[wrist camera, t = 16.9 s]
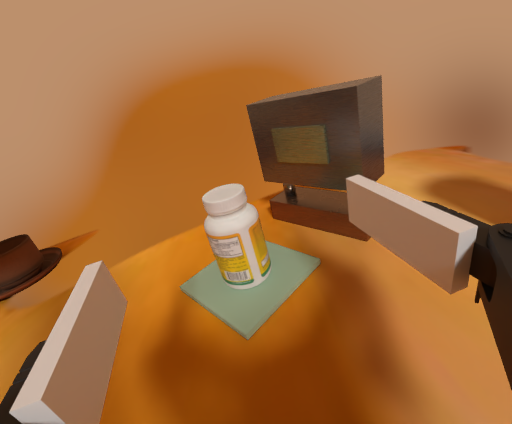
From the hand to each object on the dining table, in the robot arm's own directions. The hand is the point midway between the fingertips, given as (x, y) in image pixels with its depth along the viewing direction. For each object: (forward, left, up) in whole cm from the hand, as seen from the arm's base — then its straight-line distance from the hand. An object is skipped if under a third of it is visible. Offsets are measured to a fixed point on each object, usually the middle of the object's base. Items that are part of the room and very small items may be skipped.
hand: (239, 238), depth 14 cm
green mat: (-9, +6, -11) cm, 16 cm away
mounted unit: (-8, +19, -11) cm, 24 cm away
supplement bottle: (-9, +6, -11) cm, 16 cm away
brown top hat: (-42, -13, -12) cm, 45 cm away
